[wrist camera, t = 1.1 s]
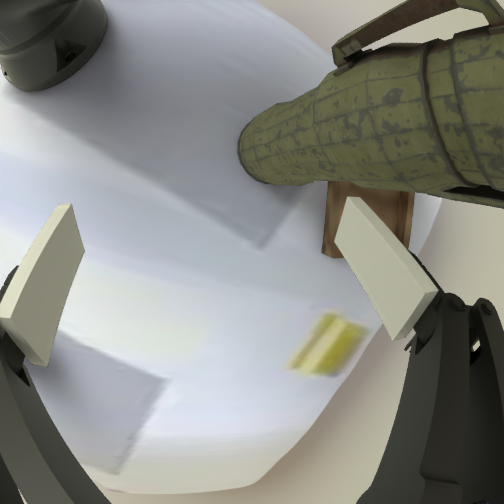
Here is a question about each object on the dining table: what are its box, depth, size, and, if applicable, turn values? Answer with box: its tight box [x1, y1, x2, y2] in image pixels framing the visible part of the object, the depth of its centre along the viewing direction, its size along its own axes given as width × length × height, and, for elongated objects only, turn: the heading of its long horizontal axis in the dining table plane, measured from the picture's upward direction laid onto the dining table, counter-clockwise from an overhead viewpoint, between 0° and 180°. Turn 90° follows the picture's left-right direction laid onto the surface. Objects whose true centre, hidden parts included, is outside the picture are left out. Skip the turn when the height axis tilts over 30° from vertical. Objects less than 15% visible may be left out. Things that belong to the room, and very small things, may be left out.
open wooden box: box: [322, 181, 415, 258], centre depth 26 cm, size 18×15×26 cm
